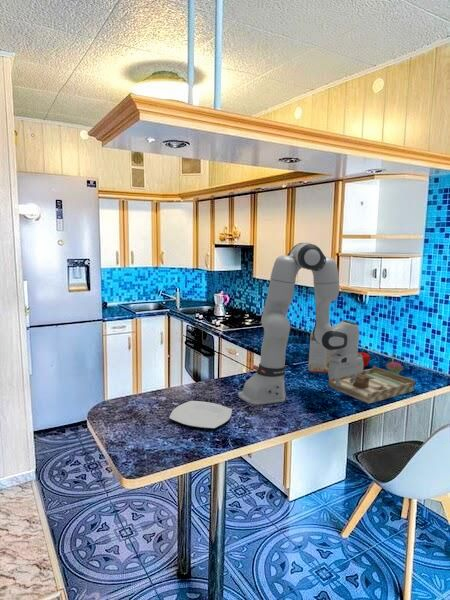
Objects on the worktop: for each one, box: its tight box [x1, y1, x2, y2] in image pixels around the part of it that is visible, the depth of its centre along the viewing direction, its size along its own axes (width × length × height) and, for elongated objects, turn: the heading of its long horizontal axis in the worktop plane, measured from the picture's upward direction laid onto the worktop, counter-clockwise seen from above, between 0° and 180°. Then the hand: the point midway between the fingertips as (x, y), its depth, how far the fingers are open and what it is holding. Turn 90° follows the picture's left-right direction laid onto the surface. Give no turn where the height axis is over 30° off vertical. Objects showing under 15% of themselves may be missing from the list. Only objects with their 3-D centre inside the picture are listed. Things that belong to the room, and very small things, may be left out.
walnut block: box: [353, 374, 369, 389], centre depth 202 cm, size 5×5×5 cm
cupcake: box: [385, 353, 404, 375], centre depth 229 cm, size 9×8×12 cm
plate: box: [168, 400, 233, 430], centre depth 166 cm, size 23×23×2 cm
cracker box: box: [307, 332, 338, 374], centre depth 229 cm, size 14×6×21 cm, turn 84°
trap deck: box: [327, 365, 416, 405], centre depth 206 cm, size 34×24×6 cm
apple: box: [358, 351, 371, 368], centre depth 242 cm, size 9×9×8 cm
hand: (345, 384), depth 195 cm, fingers open, 8 cm apart
